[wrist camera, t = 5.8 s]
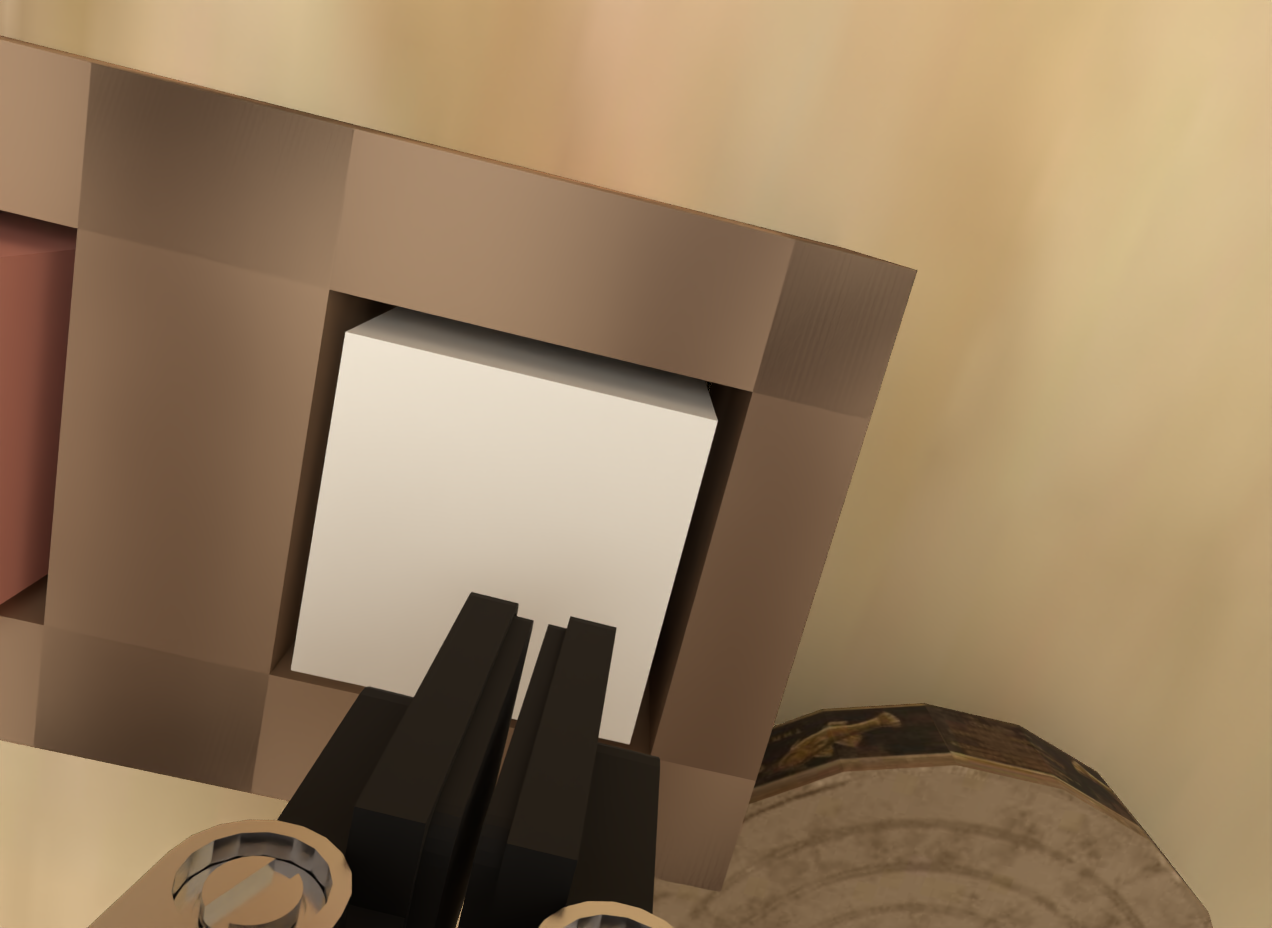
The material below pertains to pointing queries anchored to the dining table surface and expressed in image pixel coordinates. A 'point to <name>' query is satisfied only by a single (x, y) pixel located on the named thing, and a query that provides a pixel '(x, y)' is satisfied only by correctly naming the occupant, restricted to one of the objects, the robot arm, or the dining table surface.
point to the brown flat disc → (932, 834)
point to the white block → (496, 500)
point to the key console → (303, 404)
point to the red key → (31, 388)
